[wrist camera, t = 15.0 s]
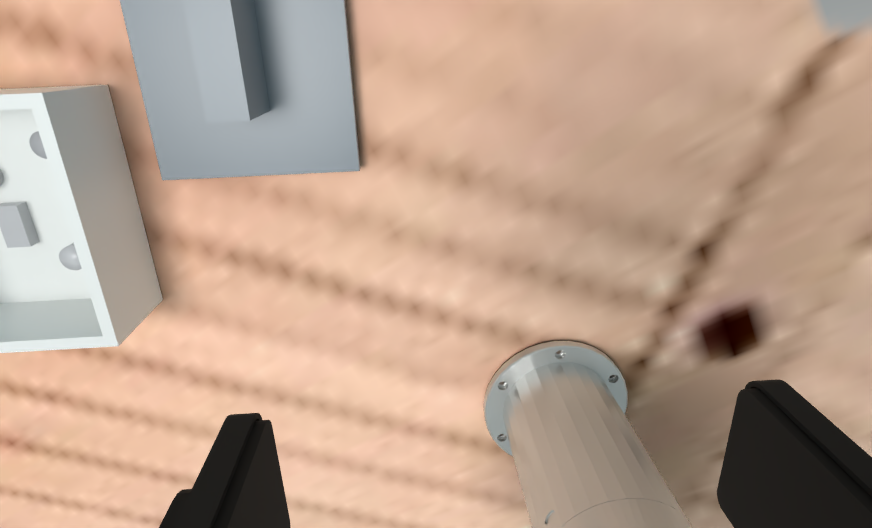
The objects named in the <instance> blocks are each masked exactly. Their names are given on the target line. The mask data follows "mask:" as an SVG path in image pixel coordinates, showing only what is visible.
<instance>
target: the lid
mask: <svg viewBox="0 0 872 528" xmlns="http://www.w3.org/2000/svg"><path fill="white" fill-rule="evenodd" d="M120 3H121V7H122V12H123V16H124V20H125V24H126V29H127V33H128V37H129V41H130V45H131V50H132V54H133V58H134V62H135V67H136V71H137V75H138V79H139V84H140V88H141V92H142V96H143V101H144V105H145V109H146V113H147V117H148V122H149V126H150V130H151V134H152V139H153V143H154V147H155V151H156V156H157V160H158V164H159V168H160V172H161V177H162V180H179V179H200V178H221V177H242V176H262V175H283V174H304V173H325V172H346V171H360V159H359V148H358V137H357V126H356V115H355V104H354V93H353V82H352V71H351V60H350V49H349V38H348V27H347V16H346V5H345V0H120Z"/></svg>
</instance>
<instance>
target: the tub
mask: <svg viewBox="0 0 872 528" xmlns="http://www.w3.org/2000/svg"><path fill="white" fill-rule="evenodd" d="M162 300H163V298H162V294H161V290H160V286H159V282H158V278H157V274H156V271H155V267H154V263H153V259H152V255H151V251H150V247H149V243H148V239H147V236H146V232H145V228H144V224H143V220H142V216H141V212H140V208H139V204H138V200H137V197H136V193H135V189H134V185H133V181H132V177H131V173H130V169H129V165H128V161H127V158H126V154H125V150H124V146H123V142H122V138H121V134H120V130H119V126H118V123H117V119H116V115H115V111H114V107H113V103H112V99H111V95H110V91H109V87H108V85H83V86H58V87H33V88H8V89H0V353H9V352H26V351H43V350H60V349H77V348H94V347H111V346H119V345H120V344H121V343H122V342H123V341H124V340H125V339H126V338H127V337H128V336H129V335H130V334H131V333H132V331H133V330H134V329H135V328H136V327H137V326H138V325H139V324H140V323H141V322H142V321H143V320H144V319H145V318H146V317H147V316H148V315H149V314H150V313H151V312H152V310H153V309H154V308H155V307H156V306H157V305H158V304H159V303H160V302H161V301H162Z"/></svg>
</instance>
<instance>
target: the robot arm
mask: <svg viewBox="0 0 872 528" xmlns="http://www.w3.org/2000/svg"><path fill="white" fill-rule="evenodd" d="M627 398H628V392H627V388H626V383H625V380H624V378H623V376H622V374H621V372H620V371H619V369H618V368H617V366H616V365H615V364H614V362H613V361H612V360H611V359H610V358H609V357H608V356H607V355H606V354H604V353H603V352H601V351H599V350H598V349H596V348H594V347H592V346H589V345H586V344H583V343H579V342H573V341H552V342H546V343H541V344H538V345H535V346H532V347H530V348H527V349H525V350H523V351H521V352H520V353H518V354H516V355H514V356H513V357H512V358H510V359H509V360H508V361H507V362H505V363H504V364H503V365H502V366H501V368H500V369H499V370H498V371H497V372H496V373H495V375H494V376H493V378H492V380H491V381H490V383H489V385H488V388H487V391H486V394H485V398H484V416H485V421H486V425H487V429H488V431H489V433H490V435H491V437H492V439H493V440H494V441H495V442H496V444H497V445H498V446H499V447H500V448H501V449H502V450H504V451H505V452H506V453H508V454H509V455H511V456H513V458H514V462H515V466H516V469H517V473H518V477H519V481H520V484H521V488H522V492H523V496H524V499H525V503H526V507H527V511H528V514H529V518H530V522H531V526H532V528H692V526H691V524H690V523H689V521H688V519H687V518H686V516H685V514H684V513H683V511H682V509H681V508H680V506H679V504H678V503H677V501H676V499H675V498H674V496H673V494H672V493H671V491H670V489H669V488H668V486H667V484H666V483H665V481H664V479H663V478H662V476H661V474H660V473H659V471H658V469H657V468H656V466H655V464H654V463H653V461H652V459H651V458H650V456H649V454H648V453H647V451H646V449H645V448H644V446H643V444H642V443H641V441H640V440H639V438H638V436H637V435H636V433H635V431H634V430H633V428H632V426H631V425H630V423H629V421H628V420H627V418H626V416H625V412H626V408H627ZM717 497H718V501H719V504H720V507H721V509H722V510H723V512H724V513H725V515H726V516H727V518H728V519H729V521H730V522H731V524H732V525H733V526H734V528H872V457H871V456H869V455H868V454H867V453H866V452H865V451H864V450H863V449H861V448H860V447H859V446H858V445H857V444H856V443H855V442H853V441H852V440H851V439H850V438H849V437H848V436H847V435H845V434H844V433H843V432H842V431H841V430H840V429H839V428H837V427H836V426H835V425H834V424H833V423H832V422H831V421H830V420H828V419H827V418H826V417H825V416H824V415H823V414H822V413H820V412H819V411H818V410H817V409H816V408H815V407H814V406H812V405H811V404H810V403H809V402H808V401H807V400H806V399H804V398H803V397H802V396H801V395H800V394H799V393H798V392H796V391H795V390H794V389H793V388H792V387H791V386H790V385H788V384H787V383H786V382H784V381H783V380H764V381H752V382H749V383H748V384H747V385H746V387H745V389H743V390H741V391H740V392H739V394H738V397H737V401H736V406H735V411H734V415H733V420H732V424H731V429H730V433H729V438H728V443H727V447H726V452H725V456H724V461H723V466H722V470H721V475H720V479H719V484H718V489H717ZM159 528H290V519H289V513H288V508H287V503H286V497H285V492H284V487H283V481H282V476H281V471H280V466H279V460H278V455H277V450H276V444H275V439H274V434H273V428H272V424H271V422H270V420H262V417H261V415H260V414H259V413H250V414H234V415H229V416H227V418H226V419H225V421H224V423H223V425H222V427H221V430H220V432H219V434H218V436H217V438H216V440H215V442H214V444H213V446H212V448H211V450H210V453H209V455H208V457H207V459H206V461H205V463H204V465H203V467H202V469H201V471H200V473H199V475H198V478H197V480H196V482H195V484H194V486H193V488H192V489H186V490H181V491H180V492H179V493H177V495H176V496H175V498H174V500H173V501H172V503H171V505H170V507H169V509H168V511H167V513H166V515H165V517H164V519H163V521H162V523H161V525H160V527H159Z"/></svg>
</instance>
